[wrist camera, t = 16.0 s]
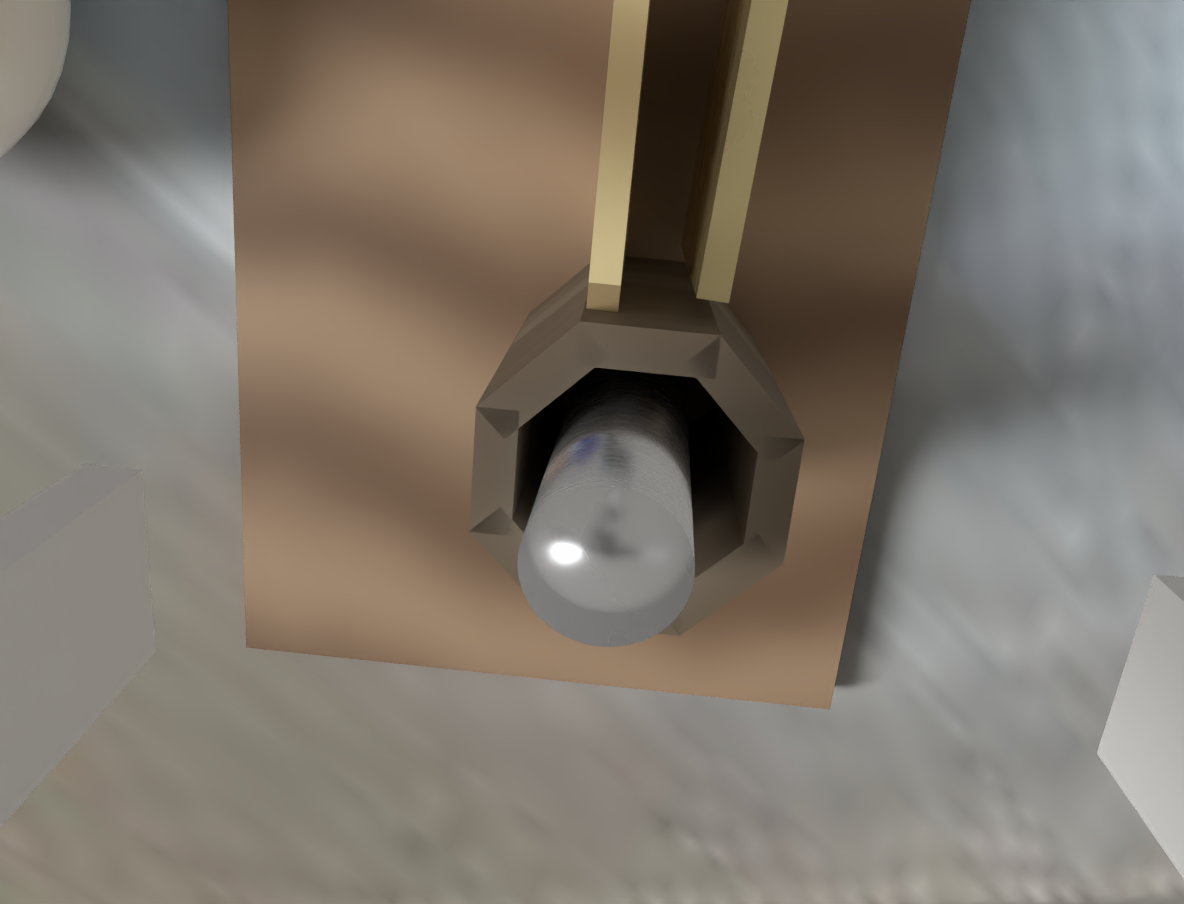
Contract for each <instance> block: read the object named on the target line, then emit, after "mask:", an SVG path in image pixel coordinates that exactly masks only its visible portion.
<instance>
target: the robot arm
mask: <svg viewBox="0 0 1184 904" xmlns="http://www.w3.org/2000/svg"><path fill="white" fill-rule="evenodd" d="M155 653H156V649H155V635H154V621H153V607H152V593H151V580H150V566H149V552H148V538H147V524H146V510H145V497H144V483H143V470H141V469H131V468H121V467H112V466H102V465H92V464H83V465H82V466H80V467H79V468H77V469H76V470H74V471H73V472H71V473H70V474H68V475H66V476H65V477H63V478H62V479H60V480H59V481H57V482H56V483H54V484H53V485H51V486H49V487H48V488H46V489H45V490H43V491H42V492H40V493H39V494H37V495H36V496H34V497H33V498H31V499H29V500H28V501H26V502H25V503H23V504H22V505H20V506H19V507H17V508H16V509H14V510H12V511H11V512H9V513H8V514H6V515H5V516H3V517H2V518H0V828H1V827H2V826H3V825H4V824H5V822H6V821H7V820H8V819H9V818H10V817H11V816H12V814H13V813H14V812H15V811H16V810H17V809H18V808H19V807H20V805H21V804H22V803H23V802H24V801H25V800H26V799H27V798H28V796H29V795H30V794H31V793H32V792H33V791H34V790H35V789H36V787H37V786H38V785H39V784H40V783H41V782H42V781H43V780H44V778H45V777H46V776H47V775H48V774H49V773H50V772H51V770H52V769H53V768H54V767H55V766H56V765H57V764H58V763H59V761H60V760H61V759H62V758H63V757H64V756H65V755H66V754H67V752H68V751H69V750H70V749H71V748H72V747H73V746H74V745H75V743H76V742H77V741H78V740H79V739H80V738H81V737H82V735H83V734H84V733H85V732H86V731H87V730H88V729H89V728H90V726H91V725H92V724H93V723H94V722H95V721H96V720H97V719H98V717H99V716H100V715H101V714H102V713H103V712H104V711H105V710H106V708H107V707H108V706H109V705H110V704H111V703H112V702H113V700H114V699H115V698H116V697H117V696H118V695H119V694H120V693H121V691H122V690H123V689H124V688H125V687H126V686H127V685H128V684H129V682H130V681H131V680H132V679H133V678H134V677H135V676H136V675H137V673H138V672H139V671H140V670H141V669H142V668H143V667H144V666H145V664H146V663H147V662H148V661H149V660H150V659H151V658H152V656H153V655H154V654H155ZM1097 754H1098V756H1099V757H1100V758H1101V760H1102V761H1103V763H1104V764H1105V766H1106V767H1107V769H1108V770H1109V771H1110V773H1111V774H1112V776H1113V777H1114V779H1115V780H1116V782H1117V783H1118V784H1119V786H1120V787H1121V789H1122V790H1123V792H1124V793H1125V795H1126V796H1127V798H1128V799H1129V800H1130V802H1131V803H1132V805H1133V806H1134V808H1135V809H1136V811H1137V812H1138V813H1139V815H1140V816H1141V818H1142V819H1143V821H1144V822H1145V824H1146V825H1147V826H1148V828H1149V829H1150V831H1151V832H1152V834H1153V835H1154V837H1155V838H1156V839H1157V841H1158V842H1159V844H1160V845H1161V847H1162V848H1163V850H1164V851H1165V852H1166V854H1167V855H1168V857H1169V858H1170V860H1171V861H1172V863H1173V864H1174V866H1175V867H1176V868H1177V870H1178V871H1179V873H1180V874H1181V876H1182V877H1183V879H1184V577H1175V576H1165V575H1156V574H1154V576H1153V580H1152V583H1151V586H1150V589H1149V592H1148V595H1147V598H1146V601H1145V605H1144V608H1143V611H1142V614H1141V617H1140V620H1139V623H1138V626H1137V630H1136V633H1135V636H1134V639H1133V642H1132V645H1131V648H1130V651H1129V655H1128V658H1127V661H1126V664H1125V667H1124V670H1123V673H1122V676H1121V680H1120V683H1119V686H1118V689H1117V692H1116V695H1115V698H1114V701H1113V705H1112V708H1111V711H1110V714H1109V717H1108V720H1107V723H1106V726H1105V730H1104V733H1103V736H1102V739H1101V742H1100V745H1099V748H1098V751H1097Z"/></svg>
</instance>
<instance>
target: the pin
mask: <svg viewBox="0 0 1184 904" xmlns="http://www.w3.org/2000/svg"><path fill="white" fill-rule="evenodd" d="M518 575H519V581H520V584H521V588H522V591H523V593H524V595H525V597H526V599H527V601H528V603H529V604H530V606H531V608H532V609H533V610H534V612H535V613H536V614H537V615H538V617H540V618H541V619H542V620H543V621H544V622H545V623H546V624H547V625H548V626H550V627H551V628H552V629H553V630H555V631H556V632H558V633H560V634H562V635H563V636H565V637H567V638H570V639H572V640H574V641H577V642H580V643H584V644H588V645H593V646H601V647H618V646H625V645H631V644H634V643H638V642H641V641H644V640H646V639H648V638H651V637H652V636H654V635H656V634H658V633H659V632H661V631H662V630H664V629H665V628H666V627H667V626H669V625H670V624H671V623H672V622H673V621H674V620H675V619H676V618H677V617H678V615H679V614H680V613H681V611H682V610H683V608H684V607H685V605H686V603H687V601H688V599H689V596H690V594H691V591H692V588H693V583H694V576H695V559H694V537H693V516H692V494H691V473H690V451H689V430H688V408H687V387H686V377H685V376H675V375H665V374H655V373H645V372H635V371H625V370H615V369H605V368H593V369H592V370H591V371H590V372H588V373H587V374H586V375H585V376H583V377H582V378H581V379H580V380H578V381H577V383H576V385H575V388H574V391H573V394H572V397H571V400H570V403H569V405H568V408H567V411H566V414H565V417H564V420H563V423H562V425H561V428H560V431H559V434H558V437H557V440H556V443H555V446H554V448H553V451H552V454H551V457H550V460H549V463H548V466H547V468H546V471H545V474H544V477H543V480H542V483H541V486H540V488H539V491H538V494H537V497H536V500H535V503H534V506H533V509H532V511H531V514H530V517H529V520H528V523H527V526H526V529H525V531H524V534H523V537H522V540H521V544H520V547H519V552H518Z"/></svg>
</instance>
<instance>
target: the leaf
mask: <svg viewBox="0 0 1184 904" xmlns="http://www.w3.org/2000/svg"><path fill="white" fill-rule="evenodd" d="M787 5H788V0H724V4H723V9H722V15H721V21H720V26H719V32H718V37H717V43H716V49H715V54H714V60H713V66H712V71H711V77H710V83H709V88H708V94H707V100H706V105H705V111H704V117H703V122H702V128H701V134H700V139H699V145H698V151H697V156H696V162H695V167H694V173H693V179H692V184H691V190H690V196H689V201H688V207H687V213H686V218H685V224H684V230H683V235H682V241H681V247H682V251H683V254H684V258H685V261H686V264H687V268H688V271H689V275H690V278H691V281H692V285H693V288H694V292H695V295H696V298H699V299H705V300H712V301H718V302H724V303H729V300H730V295H731V290H732V285H733V280H734V274H735V269H736V264H737V259H738V254H739V249H740V244H741V239H742V234H743V229H744V224H745V219H746V214H747V208H748V203H749V198H750V193H751V188H752V183H753V178H754V173H755V168H756V163H757V158H758V153H759V147H760V142H761V137H762V132H763V127H764V122H765V117H766V112H767V107H768V102H769V97H770V92H771V87H772V81H773V76H774V71H775V66H776V61H777V56H778V51H779V46H780V41H781V36H782V31H783V26H784V20H785V15H786V10H787Z"/></svg>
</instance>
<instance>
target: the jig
mask: <svg viewBox="0 0 1184 904" xmlns="http://www.w3.org/2000/svg"><path fill="white" fill-rule="evenodd" d="M970 3H971V0H788V5H787V10H786V15H785V20H784V26H783V31H782V36H781V41H780V46H779V51H778V56H777V61H776V66H775V71H774V76H773V81H772V87H771V92H770V97H769V102H768V107H767V112H766V117H765V122H764V127H763V132H762V137H761V142H760V147H759V153H758V158H757V163H756V168H755V173H754V178H753V183H752V188H751V193H750V198H749V203H748V208H747V214H746V219H745V224H744V229H743V234H742V239H741V244H740V249H739V254H738V259H737V264H736V269H735V274H734V280H733V285H732V290H731V295H730V300H729V303H724V302H718V301H712V300H705V299H699V298H696V295H695V292H694V288H693V285H692V281H691V278H690V275H689V271H688V268H687V264H686V261H685V258H684V254H683V251H682V247H681V241H682V235H683V230H684V224H685V218H686V213H687V207H688V201H689V196H690V190H691V184H692V179H693V173H694V167H695V162H696V156H697V151H698V145H699V139H700V134H701V128H702V122H703V117H704V111H705V105H706V100H707V94H708V88H709V83H710V77H711V71H712V66H713V60H714V54H715V49H716V43H717V37H718V32H719V26H720V21H721V15H722V9H723V4H724V0H228V32H229V66H230V101H231V135H232V170H233V204H234V238H235V273H236V307H237V342H238V376H239V410H240V445H241V479H242V514H243V548H244V582H245V617H246V647H247V648H256V649H266V650H275V651H285V652H294V653H304V654H313V655H323V656H332V657H341V658H351V659H360V660H370V661H379V662H389V663H398V664H408V665H417V666H426V667H436V668H445V669H455V670H464V671H474V672H483V673H492V674H502V675H511V676H521V677H530V678H540V679H549V680H559V681H568V682H577V683H587V684H596V685H606V686H615V687H625V688H634V689H644V690H653V691H662V692H672V693H681V694H691V695H700V696H710V697H719V698H728V699H738V700H747V701H757V702H766V703H776V704H785V705H795V706H804V707H813V708H823V709H830V706H831V701H832V696H833V691H834V686H835V681H836V676H837V671H838V666H839V661H840V656H841V651H842V646H843V641H844V636H845V631H846V626H847V621H848V616H849V611H850V606H851V601H852V596H853V591H854V586H855V581H856V576H857V571H858V566H859V561H860V556H861V551H862V546H863V541H864V536H865V531H866V525H867V520H868V515H869V510H870V505H871V500H872V495H873V490H874V485H875V480H876V475H877V470H878V465H879V460H880V455H881V450H882V445H883V440H884V435H885V430H886V425H887V420H888V415H889V410H890V405H891V400H892V395H893V390H894V385H895V380H896V375H897V370H898V365H899V360H900V355H901V350H902V345H903V340H904V334H905V329H906V324H907V319H908V314H909V309H910V304H911V299H912V294H913V289H914V284H915V279H916V274H917V269H918V264H919V259H920V254H921V249H922V244H923V239H924V234H925V229H926V224H927V219H928V214H929V209H930V204H931V199H932V194H933V189H934V184H935V179H936V174H937V169H938V164H939V159H940V154H941V149H942V143H943V138H944V133H945V128H946V123H947V118H948V113H949V108H950V103H951V98H952V93H953V88H954V83H955V78H956V73H957V68H958V63H959V58H960V53H961V48H962V43H963V38H964V33H965V28H966V23H967V18H968V13H969V8H970ZM593 368H605V369H615V370H625V371H635V372H645V373H655V374H665V375H675V376H685V377H686V387H687V408H688V430H689V451H690V473H691V494H692V516H693V537H694V559H695V576H694V583H693V588H692V591H691V594H690V596H689V599H688V601H687V603H686V605H685V607H684V608H683V610H682V611H681V613H680V614H679V615H678V617H677V618H676V619H675V620H674V621H673V622H672V623H671V624H670V625H669V626H667V627H666V628H665V629H664V630H662V631H661V632H659V633H658V634H656V635H654V636H652V637H651V638H648V639H646V640H644V641H641V642H638V643H634V644H631V645H625V646H618V647H601V646H593V645H588V644H584V643H580V642H577V641H574V640H572V639H570V638H567V637H565V636H563V635H562V634H560V633H558V632H556V631H555V630H553V629H552V628H551V627H550V626H548V625H547V624H546V623H545V622H544V621H543V620H542V619H541V618H540V617H538V615H537V614H536V613H535V612H534V610H533V609H532V608H531V606H530V604H529V603H528V601H527V599H526V597H525V595H524V593H523V591H522V588H521V584H520V581H519V575H518V552H519V547H520V544H521V540H522V537H523V534H524V531H525V529H526V526H527V523H528V520H529V517H530V514H531V511H532V509H533V506H534V503H535V500H536V497H537V494H538V491H539V488H540V486H541V483H542V480H543V477H544V474H545V471H546V468H547V466H548V463H549V460H550V457H551V454H552V451H553V448H554V446H555V443H556V440H557V437H558V434H559V431H560V428H561V425H562V423H563V420H564V417H565V414H566V411H567V408H568V405H569V403H570V400H571V397H572V394H573V391H574V388H575V385H576V383H577V381H578V380H580V379H581V378H582V377H583V376H585V375H586V374H587V373H588V372H590V371H591V370H592V369H593Z"/></svg>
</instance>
